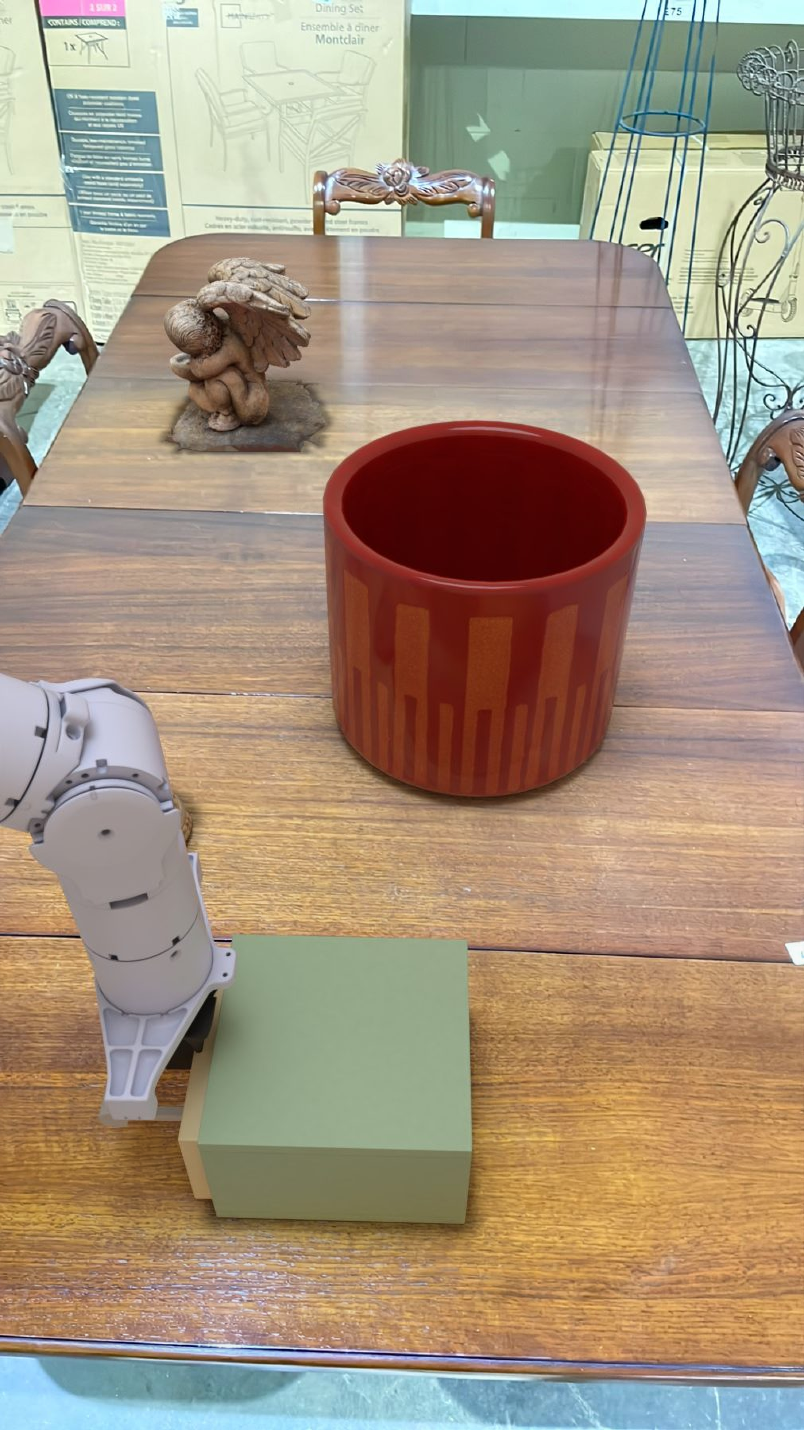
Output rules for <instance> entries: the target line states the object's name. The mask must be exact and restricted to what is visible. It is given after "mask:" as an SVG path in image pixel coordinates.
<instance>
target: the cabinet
mask: <svg viewBox="0 0 804 1430" xmlns="http://www.w3.org/2000/svg"><path fill="white" fill-rule="evenodd" d="M468 943H469V941H468V939H458V938H457V939H456V938H455V939H454V938H453V939H452V938H419V937H418V938H417V937H416V938H415V937H414V938H412V937H376V936H375V937H373V936H372V937H369V936H329V935H328V936H327V935H326V936H325V935H290V934H289V935H288V934H287V935H285V934H247V933H246V934H245V933H244V934H242V933H233V934H232V939H231V945H230V948H232V949H233V950H234V951H235V952H236V956H237V961H238V963H237V970H236V976H235V981H234V983H233V985H232V986H231V987H229V988H227V989H224V990H223V996H222V1002H221V1008H220V1013H219V1019H218V1025H217V1031H216V1037H215V1043H214V1048H213V1054H212V1060H211V1066H210V1072H209V1078H208V1083H207V1089H206V1095H205V1101H204V1107H203V1112H202V1118H201V1124H200V1130H199V1136H198V1142H197V1145H198V1149H199V1152H200V1155H201V1159H202V1163H203V1167H204V1171H205V1174H206V1178H207V1182H208V1186H209V1189H210V1193H211V1197H212V1199H211V1200H212V1204H213V1208H214V1211H215V1215H216V1217H217V1218H236V1219H237V1218H239V1219H272V1220H273V1219H274V1220H276V1219H277V1220H308V1221H309V1220H313V1221H341V1222H342V1221H343V1222H346V1221H349V1222H379V1223H380V1222H383V1223H385V1222H386V1223H414V1224H415V1223H416V1224H417V1223H419V1224H450V1225H451V1224H454V1225H455V1224H456V1225H464V1224H465V1223H466V1217H467V1216H466V1215H467V1207H468V1197H469V1187H470V1177H471V1167H472V1158H473V1121H472V1117H473V1116H472V1115H473V1114H472V1079H471V1078H472V1076H471V1073H472V1072H471V1038H470V1037H471V1036H470V1035H471V1034H470V1033H471V1032H470V994H469V993H470V991H469V989H470V988H469V987H470V986H469V951H468V950H469V948H468V947H469V945H468Z"/></svg>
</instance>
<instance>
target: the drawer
mask: <svg viewBox="0 0 804 1430" xmlns="http://www.w3.org/2000/svg"><path fill="white" fill-rule="evenodd" d="M223 990H224V989H218V990H217V992H216V993H215V995H214V996H213V997H217V1000H216V1006H215V1012H214V1018H213V1023H212V1027H211V1030H210V1032H209V1035H208V1037H207V1038H206V1039H205V1040H204V1044H203V1050H202V1052H201V1053H196V1052H195V1051H194V1055H193V1061H192V1066H191V1070H190V1072H189V1078H188V1081H187V1082H188V1083H187V1088H186V1093H185V1098H184V1104H183V1105H158V1106H157V1111H156V1116H155V1119H154V1120H151V1122H152V1121H154V1122H156V1121H158V1122H180V1126H179V1131H178V1137H177V1141H178V1145H179V1148H180V1152H181V1155H182V1159H183V1162H184V1165H185V1169H186V1173H187V1175H188V1176H187V1177H188V1179H189V1183H190V1186H191V1190H192V1194H193V1197H194V1199H200V1200H201V1199H202V1200H203V1199H204V1200H205V1199H207V1200H212V1197H211V1193H210V1189H209V1186H208V1182H207V1178H206V1174H205V1171H204V1167H203V1163H202V1159H201V1155H200V1152H199V1149H198V1145H197V1142H198V1136H199V1130H200V1124H201V1118H202V1112H203V1107H204V1101H205V1095H206V1089H207V1083H208V1078H209V1072H210V1066H211V1060H212V1054H213V1048H214V1043H215V1037H216V1031H217V1025H218V1019H219V1013H220V1008H221V1002H222V996H223ZM106 1087H107V1083H106V1084H105V1089H104V1093H103V1097H102V1101H101V1105H100V1109H99V1113H98V1118H97V1119H98V1122H99V1123H100V1124H101V1125H103V1126H106V1127H108V1128H124V1127H126V1126H127V1125H128V1124H129V1122H130V1120H113V1119H112V1116H111V1114H110V1112H109V1109H108V1107H107V1105H106V1103H105V1100H104V1098H105V1092H106Z"/></svg>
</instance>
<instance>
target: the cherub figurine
mask: <svg viewBox="0 0 804 1430" xmlns="http://www.w3.org/2000/svg"><path fill="white" fill-rule="evenodd" d="M286 268H287V267H285V266H284V265H283V264H280V263H279V264H278V263H264V262H260V261H257V260H254V259H252V258H251V257H235V258H225V259H223V260H221V261H218V262H216V263H214V264H213V265H212V266H211V267H210V268H209V270H208V272H207V281H208V284H206V285H205V286H204V287H201V288H200V290H199V292H198V293H197V295H196V299H193V298H189V299H186V300H182V301H180V302H179V303H177V304H175V305H174V306H172V307H170V308H169V309H168V310H167V311H166V313H165V316H164V319H163V326H164V327H163V328H164V331H165V334H166V335H167V337H168V339H169V341H170V342H171V343H172V344H173V345H174V346H175V347H176V348H177V349H178V350H179V351H180V352H181V353H178V354H175V355H174V356H172V357H171V358H170V359H169V368H170V370H171V371H172V372H173V374H175V375H176V376H177V377H179V378H180V379H183V380H186V381H189V386H188V391H187V392H188V397H189V398H190V399H191V401H190V402H189V403H188V404H187V405H186V406H185V407H184V412H183V413H182V415H180V417H179V419H177V422H176V423H175V425H174V428H170V431H168V432H167V433H168V434H172V435H170V436H166V437H165V441H167V442H171V443H173V444H174V443H175V444H178V448H177V451H180V450H182V449H187V450H192V452H196V451H198V452H301V449H302V447H303V446H304V444H305V441H309V442H311V443H314V444H316V445H319V443H320V436H317V437H312V435H314V434H315V433H317V431H319V430H321V429H323V427H324V426H325V425H326V420H325V417H324V415H323V413H322V412H321V411H319V406H320V404H319V403H318V402H317V401H313V399H312V396H311V393H310V392H309V390H308V389H306V388H305V387H306V386H308V385H310V384H311V382H310V383H309V382H308V383H306V384H298V382H293V381H292V382H291V381H280V380H279V381H277V380H270V379H268V380H267V376H266V372H267V371H268V369H269V368H270V366H273V367H278V368H282V369H287V368H289V367H291V362H297V361H301V359H302V358H303V355H302V352H301V351H300V349H299V348H298V347H302V348H308V347H309V345H310V340H311V339H312V335H311V332H309V331H308V330H307V329H306V328H305V326H303V325H302V324H301V323H300V322H299V321H305V320H306V319H308V318H309V317H311V315H312V309H311V306H310V305H309V304H308V303H307V302H306V301H305V300H306V298H308V297H309V295H310V292H309V289H308V288H307V287H305V286H304V285H303V284H302V283H300V282H299V281H296V280H294V279H290V277H288V276H286ZM215 309H222V310H223V311H224V312H220V311H219V312H216V311H215ZM298 320H299V321H298Z"/></svg>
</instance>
